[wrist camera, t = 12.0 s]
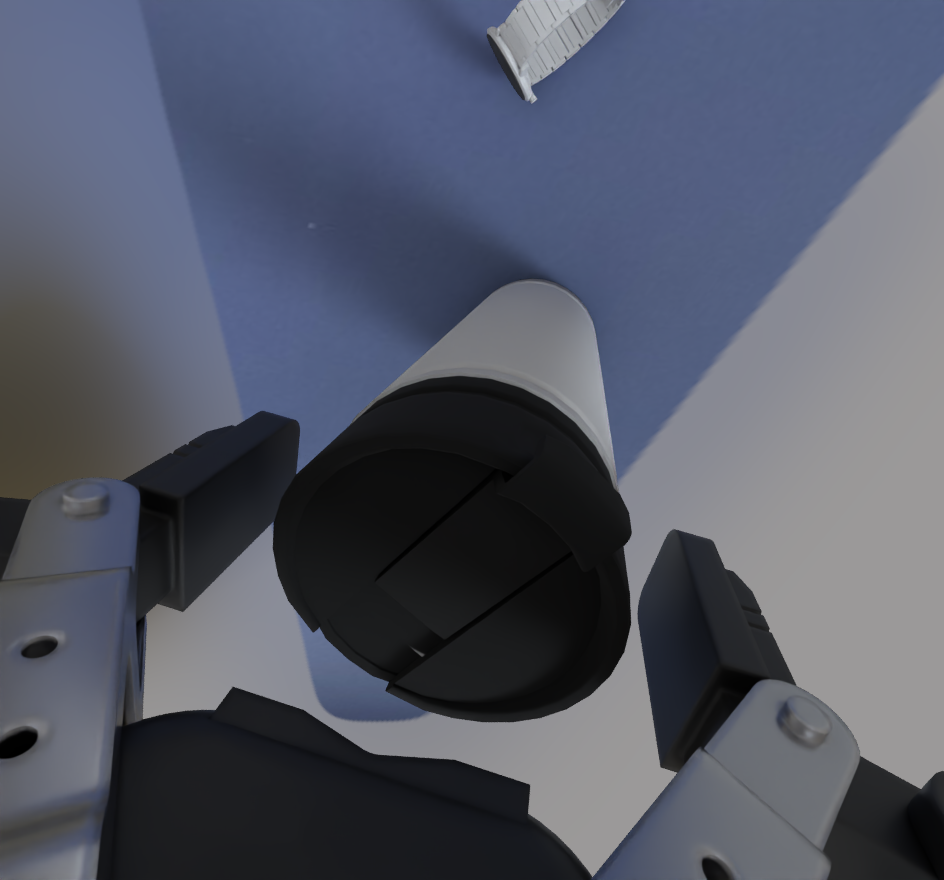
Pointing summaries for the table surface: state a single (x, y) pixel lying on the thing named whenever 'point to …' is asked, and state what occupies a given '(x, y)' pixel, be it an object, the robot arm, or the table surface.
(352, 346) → the table surface
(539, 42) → the wristwatch
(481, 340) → the travel mug
